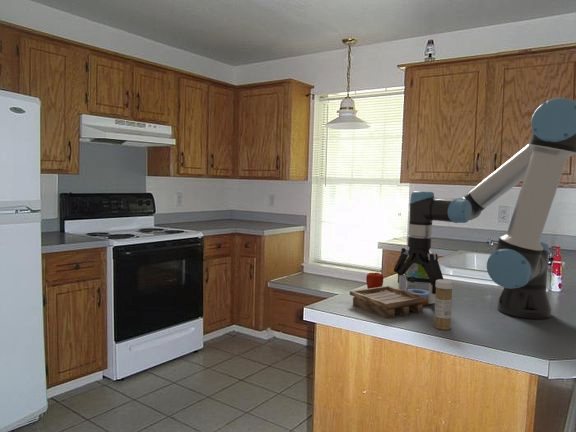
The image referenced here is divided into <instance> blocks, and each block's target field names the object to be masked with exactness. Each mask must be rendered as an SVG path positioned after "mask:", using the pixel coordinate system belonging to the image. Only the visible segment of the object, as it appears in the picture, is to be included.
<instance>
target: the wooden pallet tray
mask: <svg viewBox="0 0 576 432" xmlns="http://www.w3.org/2000/svg"><path fill="white" fill-rule="evenodd" d="M379 291H380V292H379ZM372 292H373V293H372ZM349 296H352V305H353V306H355V307H357V308H361V309H363V310H366V311H368V312H371V313H373V314H375V315H379V316H380V317H383V316H384V318H386V319H389V320H390V318H391V319H395V314H397V313H398V314H397V315H400V314H401V315H400V316H402V317H403V316H404V317H406V316H405V315H407V316H409V315H410V311H411V312H413V313H416V314H420V313H423V307H424V305H422V304H421V302H423V301H426V297H424V296H421V295H417V294H414V293H411V292H407V291H406V290H405V291H404V290H401V289H398V288H397V287H394V286H390V285H385V286H383V285H382V287H376V288H369V289H368V288H363V289H356V290H350V291H349Z"/></svg>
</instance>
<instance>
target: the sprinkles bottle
mask: <svg viewBox="0 0 576 432" xmlns="http://www.w3.org/2000/svg"><path fill="white" fill-rule="evenodd" d="M435 286H436V297H435V303H434V323H433V327H435V329H437V330H443V331H447V330H450V329H451V327H452V326H451V323H452V320H451V319H452V304H453V298H452V297H453V296H452V295H453V293H452V292H453V289H454V287H453V286H454V282H453V280H449V279H444V278H443V279H439V280H436V284H435Z"/></svg>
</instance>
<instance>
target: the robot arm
mask: <svg viewBox="0 0 576 432" xmlns="http://www.w3.org/2000/svg"><path fill="white" fill-rule="evenodd" d="M530 121H531V123H530V125H531V126H530V127H531V131H532V132H531V136H530V139H529V142H528V144H527V145H525V146H524V147H522V149H520V150H519V151H518V152H517V153H515V154H514V155H513V156H512V157H510V158H509V159H508V160H507V161H506V162H504V163H503V164H502V165H500V167H498V168H497V169H496V170H494V171H493V172H491V174H489V175H488V176H487V177H486V178H484V179H483V180H482V181H481V182H480V183H478V184H477V185H476V186H474V187H473V188H472V189H471V190H470V191H468V192H467V193H466V194H465V195H463V196H461V198H443V197H442V198H441V197H435V192H433V191H425V190H424V191H423V190H422V191H421V190H420V191H419V190H416V191H415V190H414V191H412V192H411V194H410V201H409V220H408V221H409V222H408V234H407V235H408V237H407V238H408V239H407V247H402V248H401V251H400V255H399V257H398V259H397V262H396V263H395V266H394V268H393V272H394V273H396V274H397V284H398V288H397V289H401V290H404V291H406V289H407V288H406V275H405V274H406V273H405V272H406V271H407V270H408V269H409V268H410V266H411V265H412V264H413V263H417V264H419V265H421V266H422V267H423V268H424V269H425V271H426V273H427V275H428V277H429V279H430V281H431V284H429V299H428V303H429V305H431V304H435V297H436V286H435V284H436V280H439V279H444V276H443V273H442V269H441V267H440V264H439V261H438V253H435V252H434V253H435V254H430V253H429V250H430V249H431V248H432V238H431V236H432V233H433V232H432V231H433V221H438V222H447V223H454V224H466V223H468V222H469V221H472V220H475V219H476V218H478V217H479V216H480V215H481V214H482V212H483V211H484V210H485V209H486V208H488V207H489V206H490V205H491V204H493V203H494V202H495V201H496V200H498V199H499V198H500V197H502V196H503V195H504V194H506V193H507V192H508V191H511V189H513V188H514V187H515V186H516V185H518V184H519V183H521V182H522V184H521V187H520V191H519V193H518V197H517V200H516V204H515V207H514V210H513V213H512V215H511V219H510V222H509V225H508V228H507V232H506V233H503V234H502V235H500V236H499V237H498V242H497V245H496V247H495V250H494V251H493V252H492V253H491V254H490V256H488V259H487V261H486V271H487V274H488V276H489V277H490V279H491V280H492V281H493V283H495V284H497V286H499V287H502V288H503V289H502V291H501V294H500V295H499V298H498V301H497V307H496V309H497V311H499V312H501V313H503V314H505V315H508V316H512V317H518V318H522V319H528V320H529V319H532V320H545V319H548V318H551V317H552V306H551V303H550V299H549V296H548V292H547V283H548V280H547V279H548V269H549V268H548V267H549V255H550V250H549V245H548V243H547V242H543V241H540V240H541V237H542V234H543V232H544V228H545V226H546V223H547V220H548V217H549V214H550V210H551V209H552V205H553V202H554V198H555V196H556V193H557V189H558V187H559V184H560V182H561V181H560V180H561V179H562V175H563V173H564V169H565V166H566V163H567V160H568V159H569V158H570V157H573V156H574V155H576V100H575V99H572V98H567V97H555V98H551V99H548V100H546V101H544V102H543V103H541V104H540V105H539V106H538V107H537V108H536V109H535V110H534V113H533V114H532V116H531V120H530ZM408 254H409V257H408ZM407 257H408V258H407ZM406 259H407V260H406ZM429 259H430V261H429Z"/></svg>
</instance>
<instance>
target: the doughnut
mask: <svg viewBox="0 0 576 432" xmlns="http://www.w3.org/2000/svg"><path fill="white" fill-rule="evenodd" d="M405 291H407V292H411V293H414V294H417V295H421V296H424V297H426V301H423V302H421V304H422V305H423V306H427V305H430V304H429V303H428V299H429V291H427V290H423V289H409V290H407V289H405Z"/></svg>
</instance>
